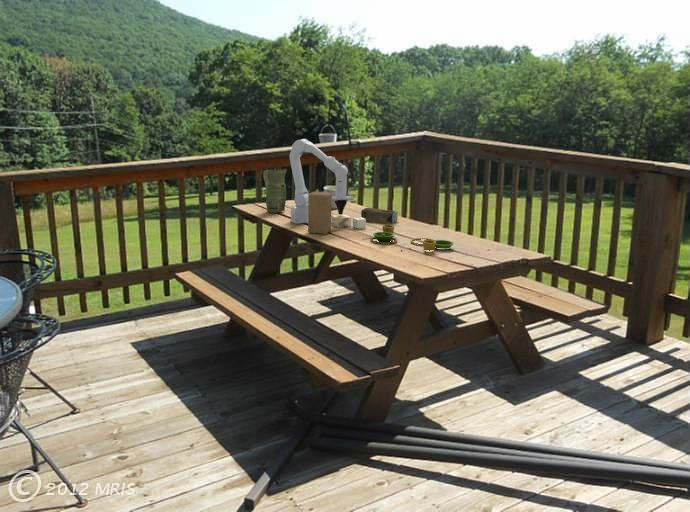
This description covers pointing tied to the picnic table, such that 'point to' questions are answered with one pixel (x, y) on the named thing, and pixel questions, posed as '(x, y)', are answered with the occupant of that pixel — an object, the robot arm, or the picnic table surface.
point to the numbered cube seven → (359, 222)
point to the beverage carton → (379, 215)
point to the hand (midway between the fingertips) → (340, 214)
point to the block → (319, 212)
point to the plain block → (341, 220)
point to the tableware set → (427, 244)
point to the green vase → (275, 190)
